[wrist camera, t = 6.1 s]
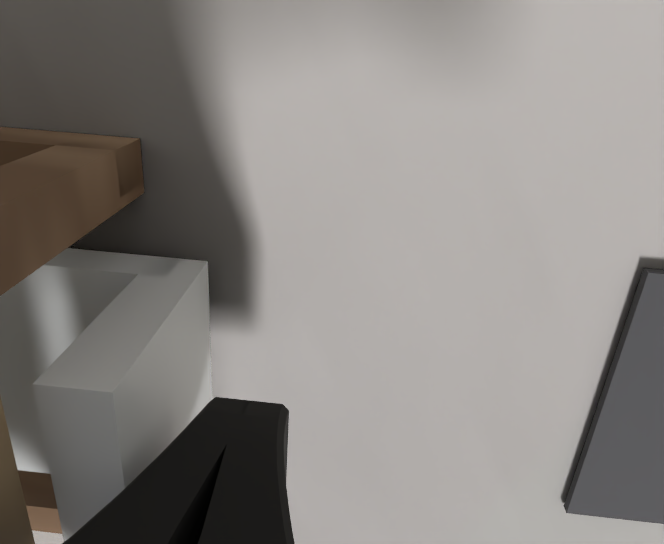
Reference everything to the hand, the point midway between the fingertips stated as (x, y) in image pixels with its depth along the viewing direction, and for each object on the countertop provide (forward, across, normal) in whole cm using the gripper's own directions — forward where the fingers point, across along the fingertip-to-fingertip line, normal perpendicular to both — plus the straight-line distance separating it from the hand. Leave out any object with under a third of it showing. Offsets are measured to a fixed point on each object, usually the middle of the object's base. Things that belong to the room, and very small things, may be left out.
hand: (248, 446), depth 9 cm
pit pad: (+2, -8, 0) cm, 8 cm away
